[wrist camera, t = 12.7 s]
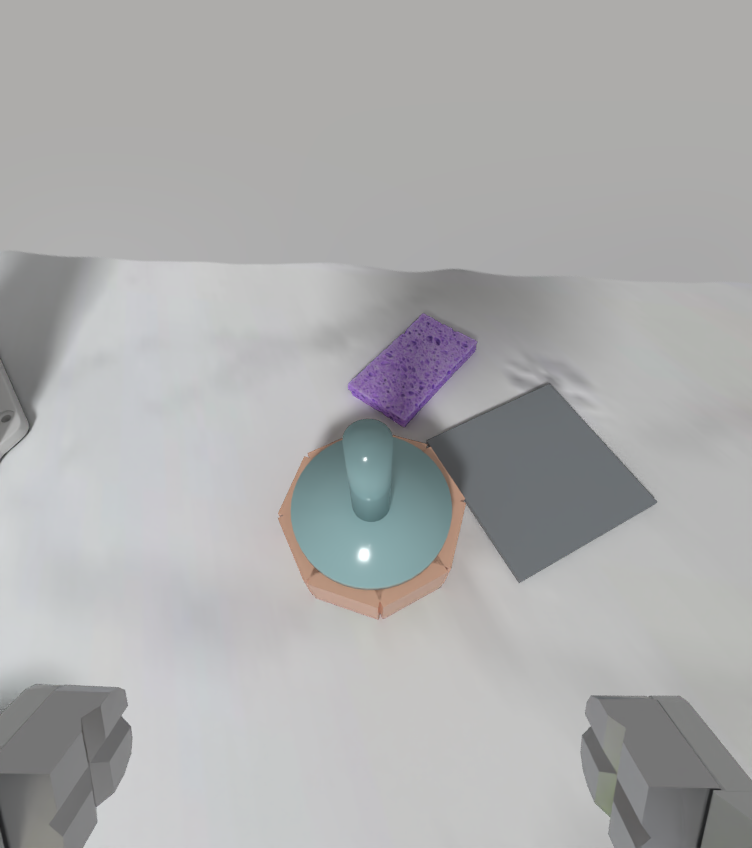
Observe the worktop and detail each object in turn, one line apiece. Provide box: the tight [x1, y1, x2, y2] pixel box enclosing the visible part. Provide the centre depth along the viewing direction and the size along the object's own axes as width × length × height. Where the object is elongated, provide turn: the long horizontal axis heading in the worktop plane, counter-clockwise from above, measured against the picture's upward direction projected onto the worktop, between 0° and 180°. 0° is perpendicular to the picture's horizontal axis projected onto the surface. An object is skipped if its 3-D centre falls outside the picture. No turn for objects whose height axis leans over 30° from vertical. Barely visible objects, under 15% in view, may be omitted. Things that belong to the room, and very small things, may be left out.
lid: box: [291, 419, 452, 590], centre depth 29 cm, size 12×12×10 cm
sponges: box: [348, 313, 477, 427], centre depth 46 cm, size 7×13×2 cm, turn 141°
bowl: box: [278, 435, 466, 619], centre depth 35 cm, size 13×13×4 cm
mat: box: [426, 384, 657, 583], centre depth 39 cm, size 14×14×1 cm
